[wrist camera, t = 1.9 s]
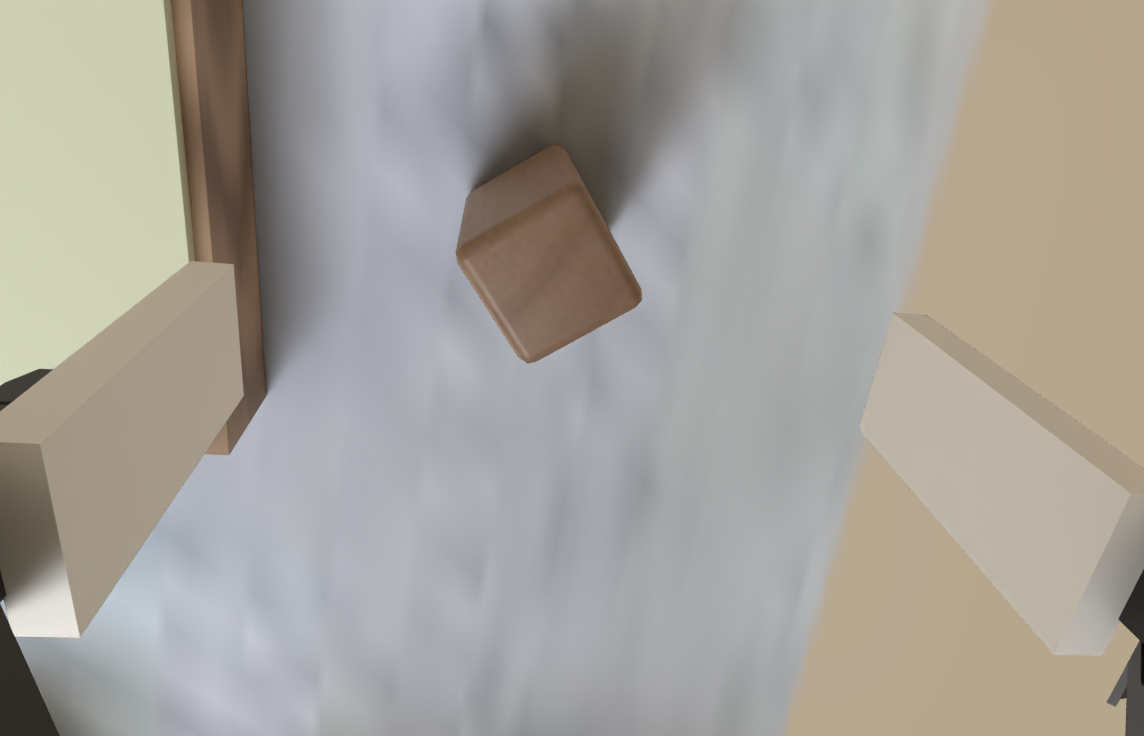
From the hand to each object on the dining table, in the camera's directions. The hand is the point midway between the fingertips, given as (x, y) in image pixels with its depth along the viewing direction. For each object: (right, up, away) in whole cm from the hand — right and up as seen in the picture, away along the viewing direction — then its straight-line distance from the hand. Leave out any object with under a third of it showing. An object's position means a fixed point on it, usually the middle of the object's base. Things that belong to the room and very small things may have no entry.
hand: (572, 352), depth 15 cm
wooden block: (-1, +5, +13) cm, 14 cm away
